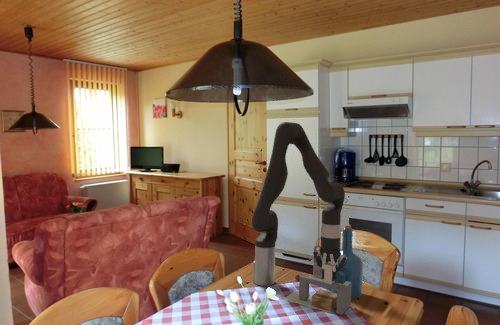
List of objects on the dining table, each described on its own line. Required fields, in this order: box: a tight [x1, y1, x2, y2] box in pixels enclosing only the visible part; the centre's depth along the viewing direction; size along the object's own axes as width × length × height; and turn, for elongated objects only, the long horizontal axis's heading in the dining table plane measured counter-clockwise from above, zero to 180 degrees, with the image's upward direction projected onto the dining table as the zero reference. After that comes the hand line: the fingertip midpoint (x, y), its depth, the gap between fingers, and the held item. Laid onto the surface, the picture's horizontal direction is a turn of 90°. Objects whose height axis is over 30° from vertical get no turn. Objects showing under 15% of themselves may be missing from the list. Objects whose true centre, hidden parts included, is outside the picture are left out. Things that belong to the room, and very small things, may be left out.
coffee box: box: [312, 245, 324, 280], centre depth 165 cm, size 9×6×16 cm
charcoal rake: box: [298, 262, 352, 316], centre depth 140 cm, size 19×10×16 cm, turn 56°
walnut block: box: [311, 289, 337, 312], centre depth 139 cm, size 8×8×4 cm
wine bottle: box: [330, 224, 364, 300], centre depth 152 cm, size 14×13×30 cm
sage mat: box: [283, 290, 333, 314], centre depth 143 cm, size 20×10×1 cm, turn 56°
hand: (329, 279), depth 138 cm, fingers closed on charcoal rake, 3 cm apart
